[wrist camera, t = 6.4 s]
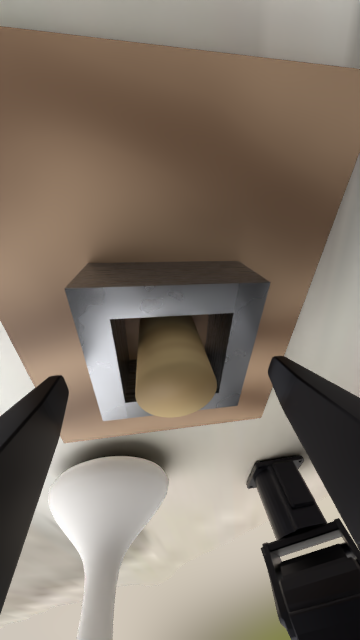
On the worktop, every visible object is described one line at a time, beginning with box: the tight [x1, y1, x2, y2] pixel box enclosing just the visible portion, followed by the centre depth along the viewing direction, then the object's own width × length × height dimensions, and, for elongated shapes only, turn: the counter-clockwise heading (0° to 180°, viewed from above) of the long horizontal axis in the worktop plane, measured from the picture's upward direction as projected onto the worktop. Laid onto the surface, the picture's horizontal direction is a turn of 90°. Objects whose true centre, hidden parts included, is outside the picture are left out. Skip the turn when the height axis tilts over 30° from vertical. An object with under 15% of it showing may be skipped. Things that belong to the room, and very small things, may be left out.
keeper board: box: [0, 26, 360, 443], centre depth 10 cm, size 20×16×6 cm
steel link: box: [64, 261, 271, 421], centre depth 10 cm, size 7×7×3 cm
